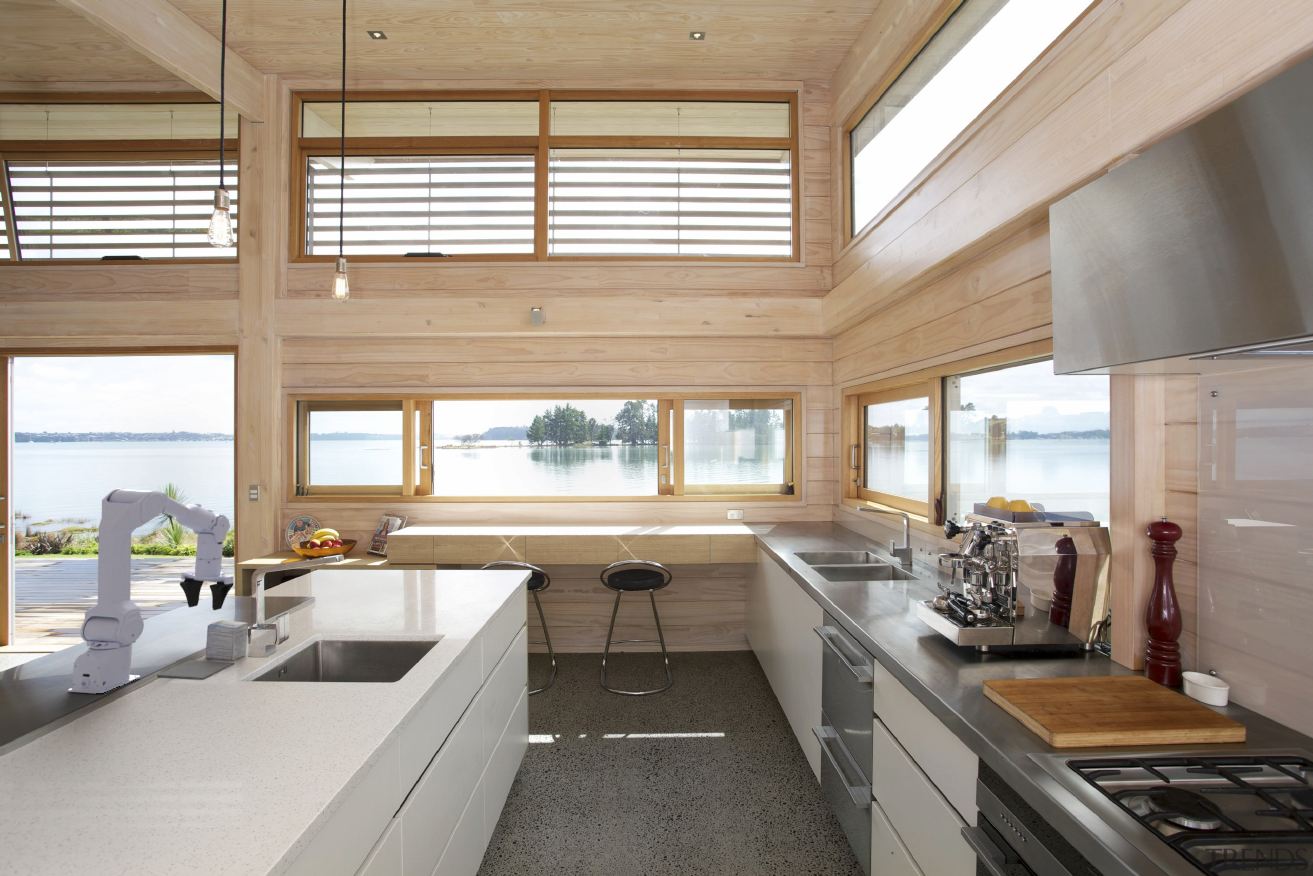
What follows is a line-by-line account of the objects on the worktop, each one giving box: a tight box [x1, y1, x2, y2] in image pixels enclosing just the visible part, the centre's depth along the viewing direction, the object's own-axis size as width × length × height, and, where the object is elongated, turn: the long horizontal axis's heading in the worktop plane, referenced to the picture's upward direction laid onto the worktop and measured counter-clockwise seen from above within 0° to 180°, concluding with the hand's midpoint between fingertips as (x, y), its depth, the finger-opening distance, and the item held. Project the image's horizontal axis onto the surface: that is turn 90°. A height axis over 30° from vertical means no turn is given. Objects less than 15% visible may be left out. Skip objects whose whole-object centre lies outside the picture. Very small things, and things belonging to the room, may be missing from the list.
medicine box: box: [205, 619, 249, 661], centre depth 154 cm, size 8×4×9 cm, turn 84°
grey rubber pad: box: [156, 659, 235, 680], centre depth 144 cm, size 10×11×1 cm
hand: (205, 607), depth 161 cm, fingers open, 7 cm apart
